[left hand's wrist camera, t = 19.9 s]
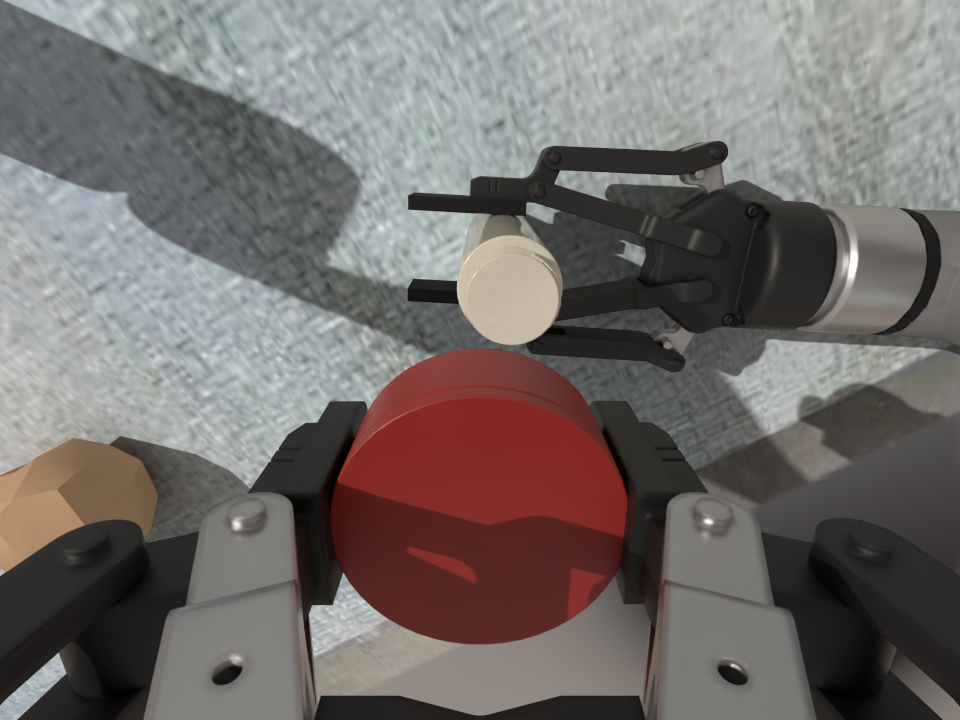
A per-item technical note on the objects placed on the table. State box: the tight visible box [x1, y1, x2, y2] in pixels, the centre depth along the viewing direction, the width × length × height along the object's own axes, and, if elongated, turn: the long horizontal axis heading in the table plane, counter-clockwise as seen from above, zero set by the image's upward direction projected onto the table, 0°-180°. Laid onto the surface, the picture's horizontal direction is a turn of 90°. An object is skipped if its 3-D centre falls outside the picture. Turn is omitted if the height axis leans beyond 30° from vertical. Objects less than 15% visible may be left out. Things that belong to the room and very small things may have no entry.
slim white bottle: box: [457, 213, 563, 345], centre depth 29 cm, size 4×4×18 cm
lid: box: [330, 349, 628, 644], centre depth 10 cm, size 5×5×2 cm
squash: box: [0, 438, 158, 572], centre depth 42 cm, size 11×20×9 cm, turn 117°
